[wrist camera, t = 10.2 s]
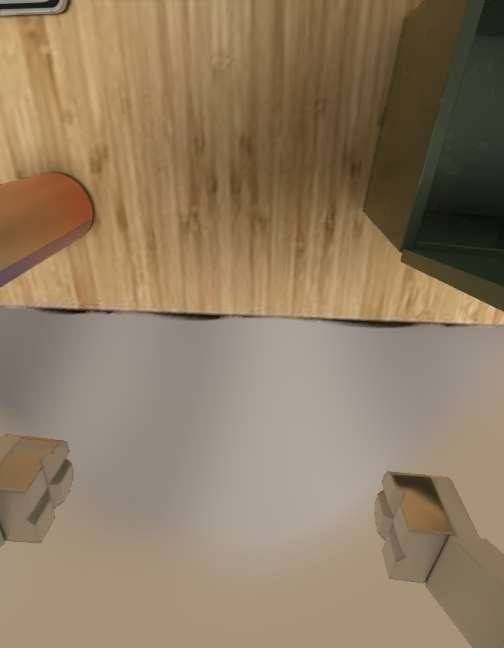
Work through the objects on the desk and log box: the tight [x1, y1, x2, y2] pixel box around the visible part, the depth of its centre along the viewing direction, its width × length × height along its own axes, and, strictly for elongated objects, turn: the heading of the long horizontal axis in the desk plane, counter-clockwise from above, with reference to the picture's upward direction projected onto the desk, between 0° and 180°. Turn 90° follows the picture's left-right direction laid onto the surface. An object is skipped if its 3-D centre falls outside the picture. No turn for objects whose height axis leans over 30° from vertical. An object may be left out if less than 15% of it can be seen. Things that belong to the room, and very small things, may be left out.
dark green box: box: [363, 0, 504, 258], centre depth 26 cm, size 14×13×12 cm
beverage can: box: [0, 172, 93, 287], centre depth 29 cm, size 6×6×15 cm
